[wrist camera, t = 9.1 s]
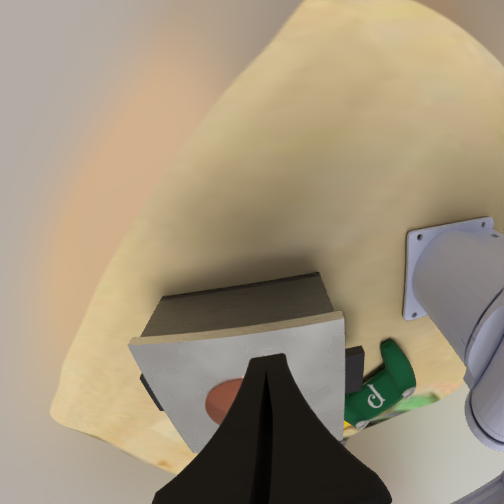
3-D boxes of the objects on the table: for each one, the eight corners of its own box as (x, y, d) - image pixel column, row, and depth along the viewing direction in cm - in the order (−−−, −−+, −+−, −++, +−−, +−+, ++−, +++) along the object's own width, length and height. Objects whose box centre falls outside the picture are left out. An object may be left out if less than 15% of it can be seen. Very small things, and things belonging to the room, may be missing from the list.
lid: (340, 310, 15) (345, 320, 14) (341, 432, 19) (342, 441, 19) (132, 337, 16) (126, 347, 16) (194, 445, 21) (192, 454, 20)
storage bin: (345, 267, 20) (368, 307, 15) (347, 378, 25) (359, 422, 20) (140, 299, 22) (113, 341, 17) (186, 397, 26) (176, 439, 21)
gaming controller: (324, 386, 28) (354, 428, 25) (311, 396, 25) (344, 442, 22) (393, 333, 25) (426, 378, 22) (389, 338, 22) (427, 388, 19)
